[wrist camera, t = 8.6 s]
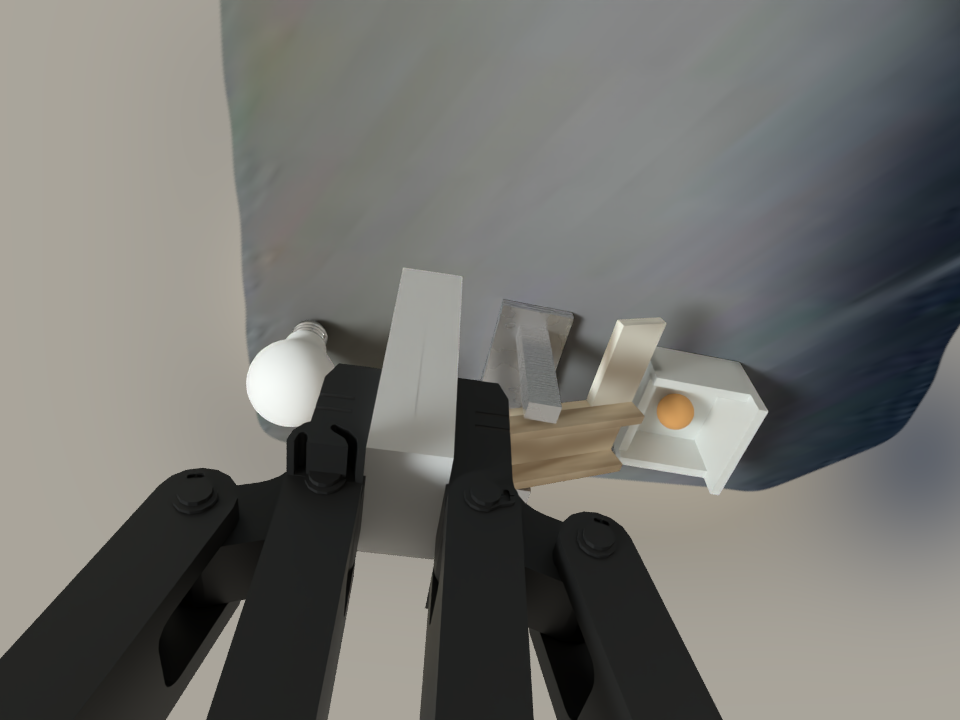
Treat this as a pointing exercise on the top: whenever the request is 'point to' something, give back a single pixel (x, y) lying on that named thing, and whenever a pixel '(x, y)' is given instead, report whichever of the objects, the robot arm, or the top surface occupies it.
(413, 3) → the top surface
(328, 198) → the top surface
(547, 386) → the stand
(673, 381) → the tray
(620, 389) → the lever
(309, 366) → the light bulb
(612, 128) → the top surface
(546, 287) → the top surface
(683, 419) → the ball
